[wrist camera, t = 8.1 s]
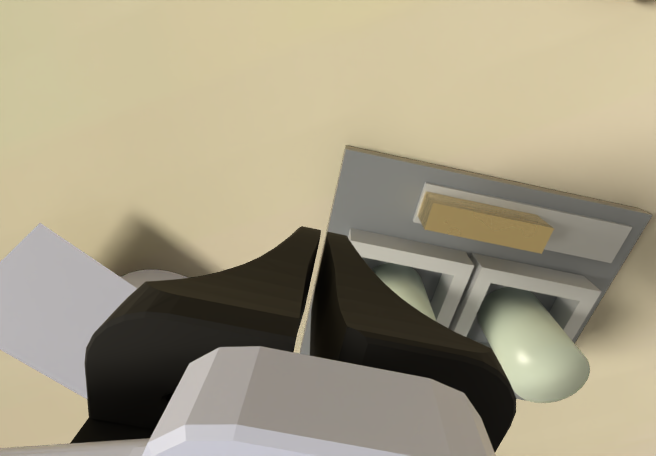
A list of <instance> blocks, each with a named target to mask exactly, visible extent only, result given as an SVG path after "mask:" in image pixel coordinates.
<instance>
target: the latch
mask: <svg viewBox="0 0 656 456" xmlns="http://www.w3.org/2000/svg"><path fill="white" fill-rule="evenodd" d="M418 217H419V220H420V222H421V224H422V226H423V228H424V230H429V231H434V232H439V233H444V234H448V235H453V236H458V237H463V238H468V239H473V240H477V241H482V242H487V243H492V244H497V245H502V246H506V247H511V248H516V249H521V250H526V251H531V252H535V253H540V254H542V252H543V250H544V248H545V246H546V244H547V242H548V240H549V238H550V236H551V234H552V232H553V230H554V228H553V227H552V226H550V225H549V224H548V223H547V222H545V221H544V220H543V219H541V218H540V217H539V216H538V215H536V214H531V213H526V212H521V211H517V210H512V209H507V208H502V207H498V206H493V205H488V204H484V203H479V202H474V201H469V200H465V199H460V198H455V197H450V196H446V195H441V194H436V193H432V192H427V191H426V192H425V195H424V198H423V201H422V204H421V207H420V210H419V213H418Z"/></svg>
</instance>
